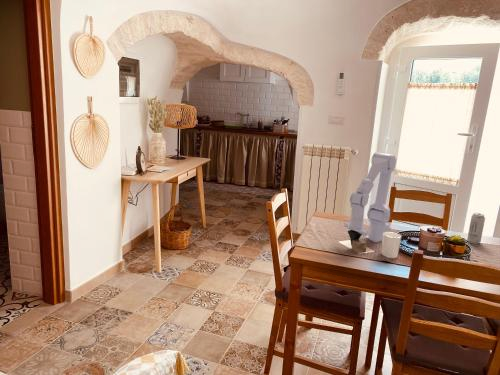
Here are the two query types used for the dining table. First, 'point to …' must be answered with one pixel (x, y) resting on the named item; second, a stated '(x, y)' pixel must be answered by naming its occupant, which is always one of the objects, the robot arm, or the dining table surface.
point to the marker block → (359, 246)
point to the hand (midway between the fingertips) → (353, 245)
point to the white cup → (391, 244)
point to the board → (348, 244)
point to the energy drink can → (476, 228)
